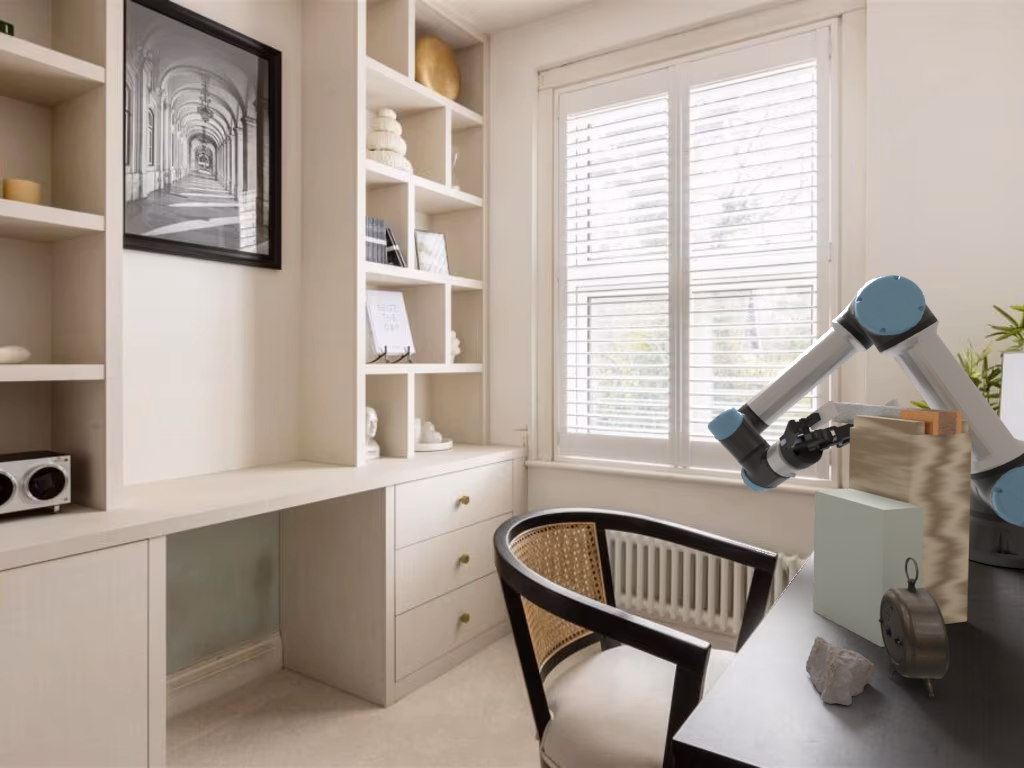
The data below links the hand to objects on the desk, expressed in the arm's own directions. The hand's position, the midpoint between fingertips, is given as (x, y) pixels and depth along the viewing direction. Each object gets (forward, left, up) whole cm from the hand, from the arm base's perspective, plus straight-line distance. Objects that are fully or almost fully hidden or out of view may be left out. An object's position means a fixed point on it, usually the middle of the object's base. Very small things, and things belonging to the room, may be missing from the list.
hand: (866, 406), depth 114 cm
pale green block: (+11, +12, -33) cm, 37 cm away
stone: (+29, +27, -34) cm, 52 cm away
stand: (0, +9, -33) cm, 34 cm away
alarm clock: (+19, +28, -33) cm, 47 cm away
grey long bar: (0, +5, -3) cm, 6 cm away
